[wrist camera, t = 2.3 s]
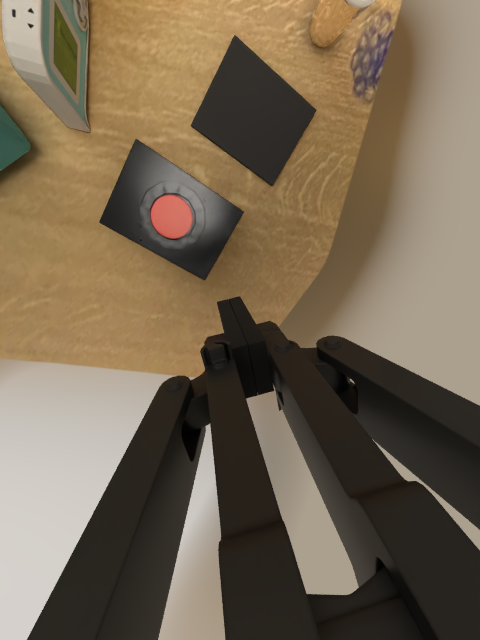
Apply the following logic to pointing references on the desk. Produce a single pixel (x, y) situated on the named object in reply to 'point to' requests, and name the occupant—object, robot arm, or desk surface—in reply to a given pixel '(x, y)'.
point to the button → (171, 216)
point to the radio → (11, 140)
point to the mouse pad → (253, 113)
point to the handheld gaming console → (51, 53)
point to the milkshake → (334, 18)
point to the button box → (159, 180)
